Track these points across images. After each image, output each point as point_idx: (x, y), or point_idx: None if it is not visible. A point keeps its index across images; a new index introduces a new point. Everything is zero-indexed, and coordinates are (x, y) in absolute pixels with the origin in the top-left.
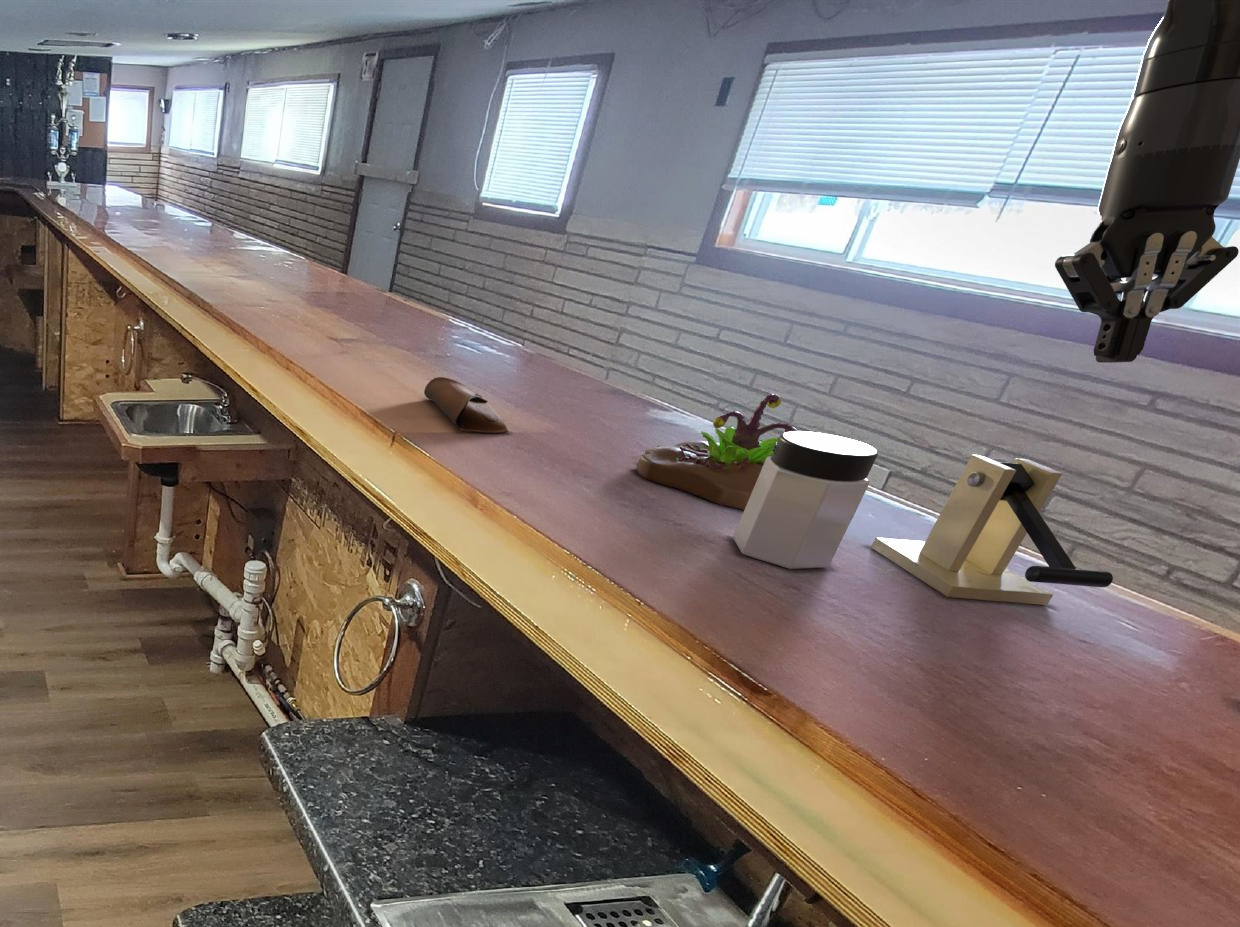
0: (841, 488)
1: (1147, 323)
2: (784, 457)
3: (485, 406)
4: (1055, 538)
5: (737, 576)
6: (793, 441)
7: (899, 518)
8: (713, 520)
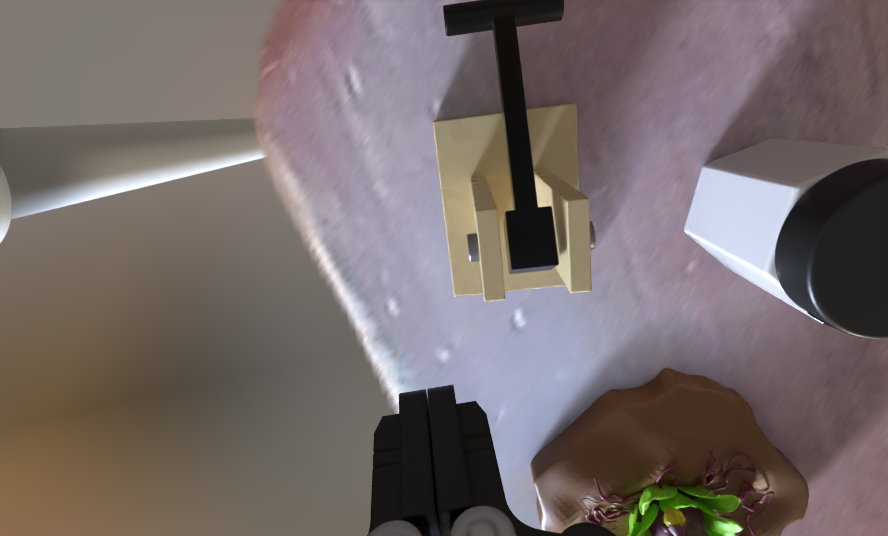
0: (851, 159)
1: (382, 513)
2: None
3: None
4: (503, 85)
5: (880, 80)
6: None
7: None
8: (775, 320)
